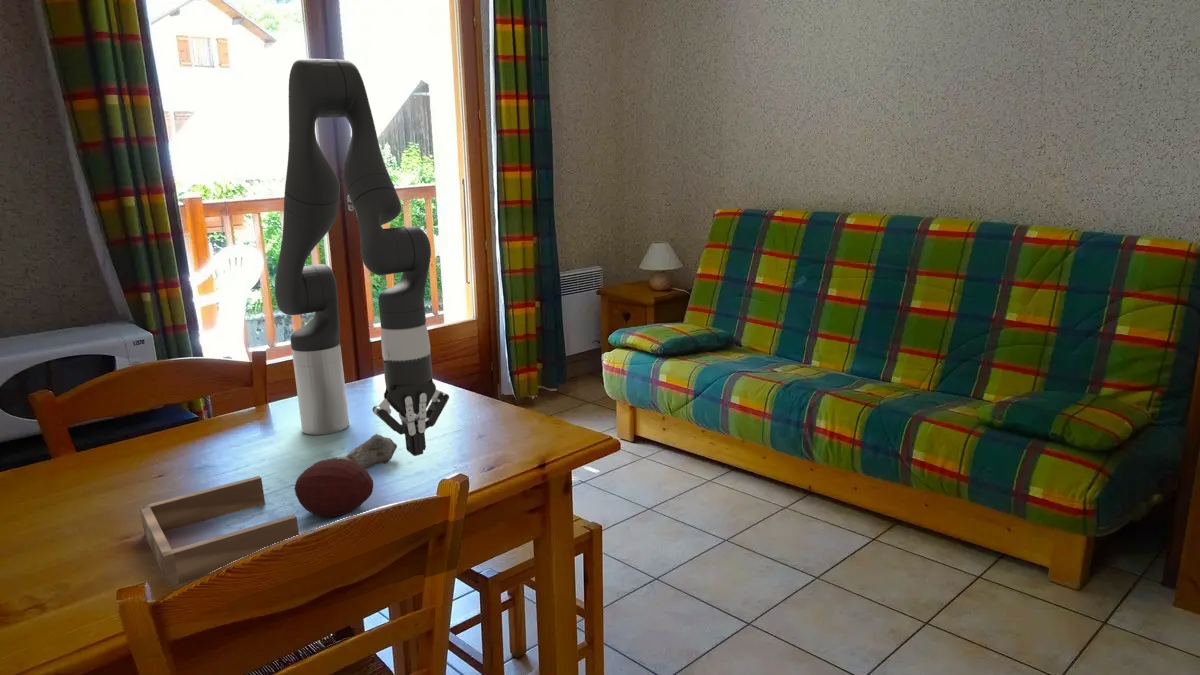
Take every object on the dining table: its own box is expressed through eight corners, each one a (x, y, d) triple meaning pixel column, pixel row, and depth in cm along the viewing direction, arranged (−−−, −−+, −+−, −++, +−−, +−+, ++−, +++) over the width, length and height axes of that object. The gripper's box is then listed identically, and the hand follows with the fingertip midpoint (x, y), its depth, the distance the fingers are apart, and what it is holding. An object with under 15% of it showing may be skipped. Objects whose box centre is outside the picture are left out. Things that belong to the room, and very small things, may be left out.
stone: (338, 482, 141) (366, 456, 138) (325, 456, 143) (353, 430, 140) (379, 476, 150) (406, 452, 147) (367, 451, 152) (393, 427, 149)
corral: (144, 534, 123) (139, 506, 121) (263, 501, 133) (259, 475, 131) (169, 587, 107) (163, 556, 106) (300, 545, 117) (296, 516, 116)
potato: (293, 505, 131) (286, 457, 129) (363, 489, 136) (358, 442, 134) (306, 534, 121) (299, 482, 119) (381, 515, 126) (376, 465, 124)
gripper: (433, 341, 137) (442, 438, 141) (357, 356, 130) (369, 458, 134) (454, 349, 131) (463, 450, 135) (376, 364, 124) (387, 471, 128)
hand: (416, 453), depth 134 cm, fingers closed
